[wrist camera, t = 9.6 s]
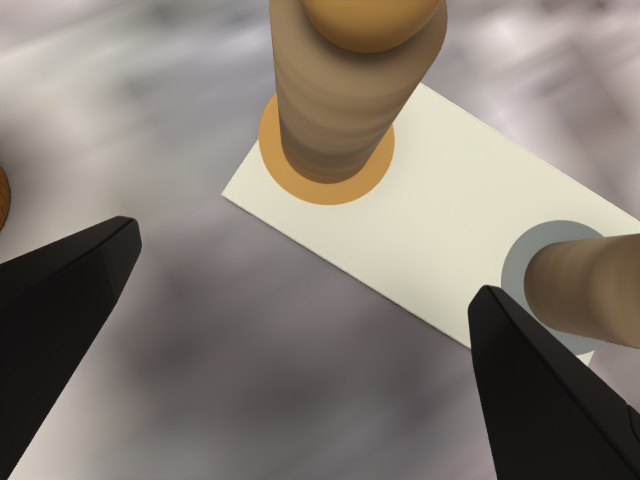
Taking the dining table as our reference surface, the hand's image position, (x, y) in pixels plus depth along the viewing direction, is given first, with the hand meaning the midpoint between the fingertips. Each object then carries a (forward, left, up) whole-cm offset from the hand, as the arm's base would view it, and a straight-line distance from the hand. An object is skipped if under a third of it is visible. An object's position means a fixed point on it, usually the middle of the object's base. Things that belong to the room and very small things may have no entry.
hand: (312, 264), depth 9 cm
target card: (+6, -5, -9) cm, 12 cm away
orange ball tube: (+6, +3, -8) cm, 11 cm away
